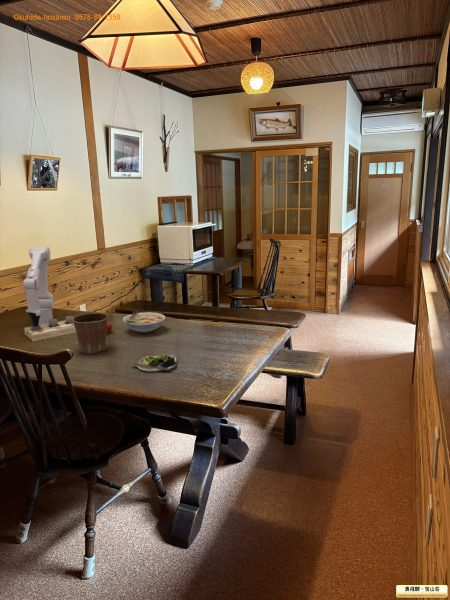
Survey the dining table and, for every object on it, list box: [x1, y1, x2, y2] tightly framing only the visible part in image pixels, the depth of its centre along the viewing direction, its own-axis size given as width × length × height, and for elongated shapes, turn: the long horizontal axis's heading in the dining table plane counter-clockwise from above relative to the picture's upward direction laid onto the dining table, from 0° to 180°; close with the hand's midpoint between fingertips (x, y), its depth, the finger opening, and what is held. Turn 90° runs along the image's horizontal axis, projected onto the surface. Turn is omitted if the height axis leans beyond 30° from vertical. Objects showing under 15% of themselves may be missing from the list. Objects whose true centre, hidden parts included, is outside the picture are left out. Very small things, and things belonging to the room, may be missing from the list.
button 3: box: [65, 315, 75, 325], centre depth 239 cm, size 4×4×4 cm
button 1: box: [30, 325, 41, 331], centre depth 228 cm, size 4×4×4 cm
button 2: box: [49, 318, 59, 328], centre depth 233 cm, size 4×4×4 cm
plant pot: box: [72, 312, 109, 355], centre depth 205 cm, size 16×16×16 cm
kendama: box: [106, 321, 113, 334], centre depth 228 cm, size 8×6×18 cm
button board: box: [23, 319, 77, 342], centre depth 233 cm, size 15×27×4 cm, turn 130°
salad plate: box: [130, 354, 178, 373], centre depth 188 cm, size 19×18×5 cm
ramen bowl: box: [122, 309, 166, 334], centre depth 235 cm, size 25×23×8 cm
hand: (35, 326), depth 227 cm, fingers closed, pressing on button 1
